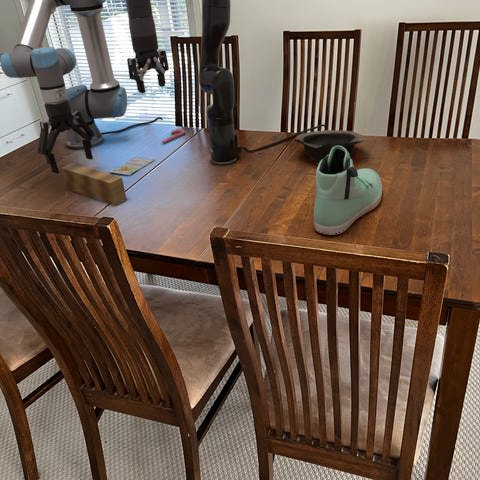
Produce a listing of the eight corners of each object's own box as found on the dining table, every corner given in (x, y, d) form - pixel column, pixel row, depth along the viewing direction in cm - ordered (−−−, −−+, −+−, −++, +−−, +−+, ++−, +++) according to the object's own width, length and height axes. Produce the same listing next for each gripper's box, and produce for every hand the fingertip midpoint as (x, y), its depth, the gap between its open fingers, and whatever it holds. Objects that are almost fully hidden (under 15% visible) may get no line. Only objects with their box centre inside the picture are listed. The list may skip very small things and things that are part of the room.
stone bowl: (322, 174, 159) (321, 147, 155) (282, 157, 179) (280, 133, 175) (380, 156, 168) (380, 130, 163) (336, 142, 188) (335, 118, 184)
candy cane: (153, 142, 199) (153, 139, 199) (177, 131, 210) (176, 127, 209) (164, 144, 196) (163, 141, 196) (187, 133, 206) (187, 129, 206)
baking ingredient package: (109, 171, 174) (134, 157, 185) (109, 172, 174) (134, 158, 185) (129, 174, 170) (153, 159, 182) (129, 175, 170) (153, 160, 182)
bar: (67, 189, 165) (61, 167, 161) (78, 183, 168) (73, 162, 164) (115, 205, 151) (109, 183, 147) (126, 199, 155) (122, 177, 150)
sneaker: (389, 187, 148) (396, 123, 138) (356, 242, 123) (361, 168, 112) (346, 181, 154) (350, 119, 144) (306, 232, 129) (307, 161, 118)
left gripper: (27, 113, 138) (47, 180, 149) (96, 92, 155) (109, 155, 166) (13, 110, 143) (33, 176, 153) (82, 90, 159) (96, 151, 170)
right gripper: (133, 38, 134) (143, 96, 142) (169, 29, 143) (176, 85, 152) (116, 37, 138) (127, 94, 146) (152, 29, 147) (160, 83, 156)
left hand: (73, 165), depth 160 cm, fingers open, 13 cm apart
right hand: (152, 89), depth 149 cm, fingers open, 8 cm apart
